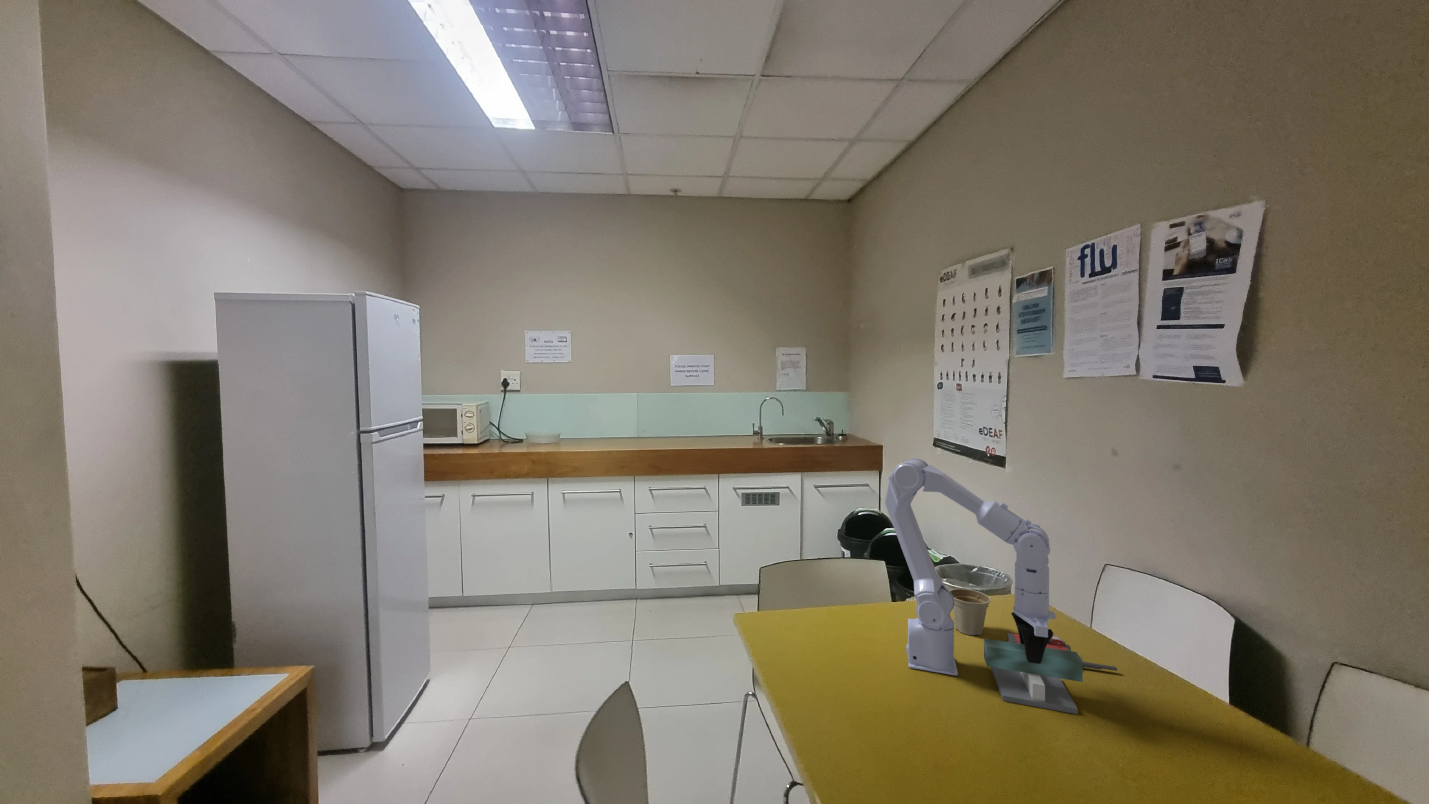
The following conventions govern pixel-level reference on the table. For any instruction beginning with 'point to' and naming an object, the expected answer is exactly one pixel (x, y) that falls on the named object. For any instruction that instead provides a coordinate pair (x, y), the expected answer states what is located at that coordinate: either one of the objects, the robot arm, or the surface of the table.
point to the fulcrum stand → (1033, 690)
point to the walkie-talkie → (1061, 645)
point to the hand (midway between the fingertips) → (1031, 657)
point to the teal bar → (1016, 660)
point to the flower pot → (969, 610)
